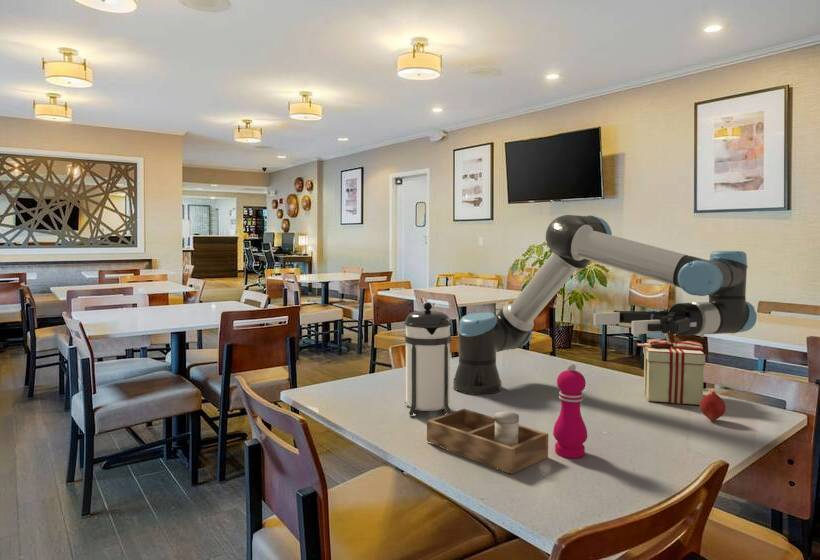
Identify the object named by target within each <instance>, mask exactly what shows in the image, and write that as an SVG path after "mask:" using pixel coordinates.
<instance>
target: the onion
mask: <svg viewBox="0 0 820 560" xmlns="http://www.w3.org/2000/svg"><path fill="white" fill-rule="evenodd" d="M699 408H700V411H701V413H702V414H703V416H705V417H706V418H707V419H708V420H709V421H711V422H715V421H717V420H718V419H720V417H723V415H724V414H725V413H726V410H727V405H726V403H725V402H724V399H722V398H721V396H719V395H718V394H717V393H716V390H712V391H711V392H710V393H708V394H706V395H704V396H703V399H702V400H701V402H700V405H699Z"/></svg>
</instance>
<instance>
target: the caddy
mask: <svg viewBox="0 0 820 560" xmlns="http://www.w3.org/2000/svg"><path fill="white" fill-rule="evenodd" d="M519 421H520V415H519V414H518V413H516V412H512V411H498V412H496V413H495V412H494V415H493V416H491V415H487V414H485V413H480V412H477V411H473V410H470V409H466V408H462V409H459V410H457V411H456V410H455V411H453V412H452V411H451V413H449V414H446V415H444V414H443V415H439V416H437V417H433V418H432V419H428V420H426V442H427V441H428V442H431V443H433V444H435V445H438V446H441V447H443V448H445V449H448V450H450V451H452V452H451V453H453V452H455V453H454V454H456V453H457V454H456V455H458V454H460V455H459V456H461V455H462V457H463V456H465V457H464V458H466V457H467V458H466V459H469V458H470V459H469V460H471V459H473V460H472V461H474V460H475V462H477V461H478V462H477V463H479V462H481V463H480V464H482V463H484V464H486V465H485V466H487V465H489V466H488V467H490V466H491V467H490V468H492V467H494V468H493V469H495V468H498V469H500V470H503V471H505V472H508V473H511V474H512V473H515V472H517V471H519V470H521V469H523V468H525V469H526V467H527V468H529V467H531V466H533V465H535V464H537V463H539V462H542V461H543V460H545V459H547V458H549V432H544V431H542V430H541V431H540V430H537V429H534V428H530V427H527V426H524V425H521V424H519ZM435 445H434V446H435ZM445 449H444V450H445ZM448 450H447V451H448ZM450 451H449V452H450ZM484 464H483V465H484ZM530 465H531V466H530ZM528 466H529V467H528ZM498 469H497V470H498ZM500 470H499V471H500ZM523 470H524V469H523ZM503 471H502V472H503ZM521 471H522V470H521ZM505 472H504V473H505ZM519 472H520V471H519ZM508 473H507V474H508ZM517 473H518V472H517ZM511 474H510V475H511ZM515 474H516V473H515Z"/></svg>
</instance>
